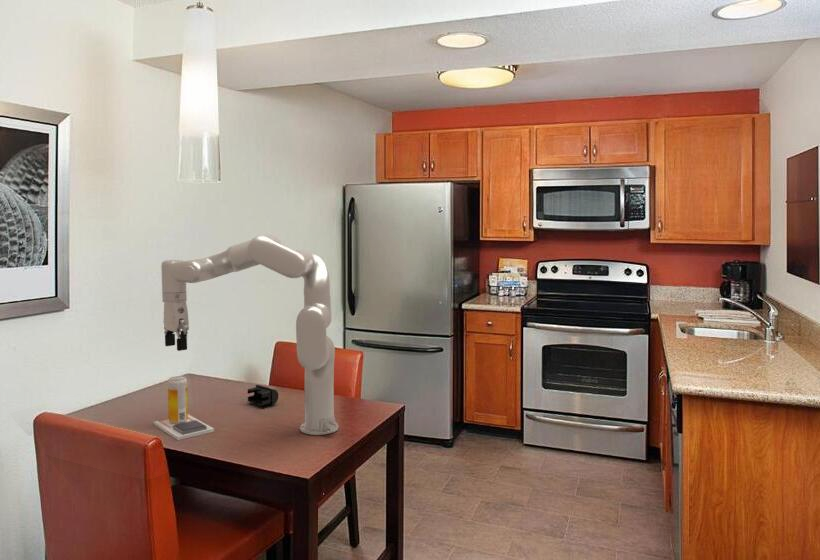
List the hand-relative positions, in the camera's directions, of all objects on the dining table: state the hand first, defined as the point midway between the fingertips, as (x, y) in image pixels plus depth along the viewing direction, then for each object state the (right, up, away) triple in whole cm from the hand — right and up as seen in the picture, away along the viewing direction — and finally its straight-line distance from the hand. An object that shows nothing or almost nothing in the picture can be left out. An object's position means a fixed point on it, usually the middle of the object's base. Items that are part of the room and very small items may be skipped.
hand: (176, 347), depth 205 cm
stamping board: (+3, -27, -1) cm, 27 cm away
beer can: (0, -25, +2) cm, 26 cm away
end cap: (+23, -25, +26) cm, 42 cm away
